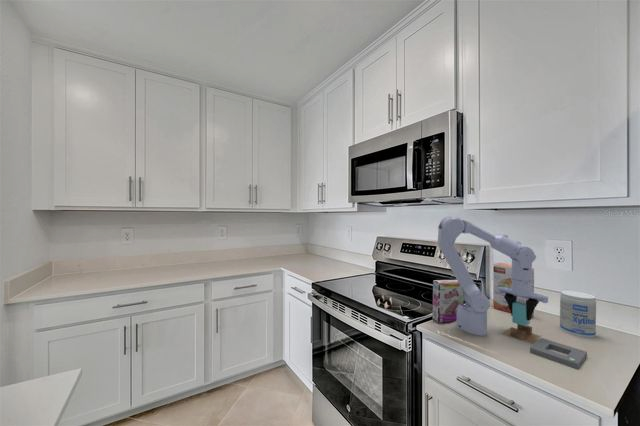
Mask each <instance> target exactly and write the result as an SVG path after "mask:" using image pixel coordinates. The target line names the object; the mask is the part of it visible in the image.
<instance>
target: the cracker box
mask: <svg viewBox="0 0 640 426" xmlns="http://www.w3.org/2000/svg"><path fill="white" fill-rule="evenodd" d="M492 267H493V268H492V269H493V273H492V274H493V282H492V283H493V284H492V285H493V287H492V289H493V294H492V295H493V296H492V297H493V298H492V299H493V300H492V301H493V302H492V304H493V305H492V306H493V309H496V310H499V311H502V312H505V313H508V314H511V311H510V308H509V305H508V303H507V301H506V300H505V298H504V296H505V294H504V293H498V292H497V288H498V287H504V288H512V264H510V263H504V262H496V263H493V266H492ZM532 292H533V293H535V268H533V267H532ZM526 300H529V299H527V298H522V297H518V296H517V299H516V301H520V302H524V303H526ZM534 316H535V310H534V311H533V314H532V317H531V318H534Z"/></svg>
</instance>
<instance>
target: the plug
mask: <svg viewBox="0 0 640 426" xmlns="http://www.w3.org/2000/svg"><path fill="white" fill-rule="evenodd" d="M511 319H512V320H511V321H512V323H513V324H520V325H523V326H529V325H530V324H531V320H527V306H526V303H524V302H520V301H515V302H513V306H512V318H511Z"/></svg>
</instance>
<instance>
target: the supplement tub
mask: <svg viewBox="0 0 640 426" xmlns="http://www.w3.org/2000/svg"><path fill="white" fill-rule="evenodd" d="M596 298H597V297H596V296H595V295H593V294H590V293H587V292H586V293H585V292H581V291H577V290H576V291H575V290H562V291H560V300H559V301H560V302H559V329H560V330H561V331H563V332H565V333H567V334H570V335H573V336H577V337H582V338H595V337H596V334H597V333H596V332H597V328H596V327H597V299H596Z"/></svg>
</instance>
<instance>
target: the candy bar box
mask: <svg viewBox="0 0 640 426" xmlns="http://www.w3.org/2000/svg"><path fill="white" fill-rule="evenodd" d="M460 306H465V301H464V299H463V292H462V290H461V286H460V284H459V282H458V281H457V279H436V280H435V279H434V280H432V320H433V321H435V322H436V323H437V324H449V323H455V322H457V310H458V308H459V307H460Z"/></svg>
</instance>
